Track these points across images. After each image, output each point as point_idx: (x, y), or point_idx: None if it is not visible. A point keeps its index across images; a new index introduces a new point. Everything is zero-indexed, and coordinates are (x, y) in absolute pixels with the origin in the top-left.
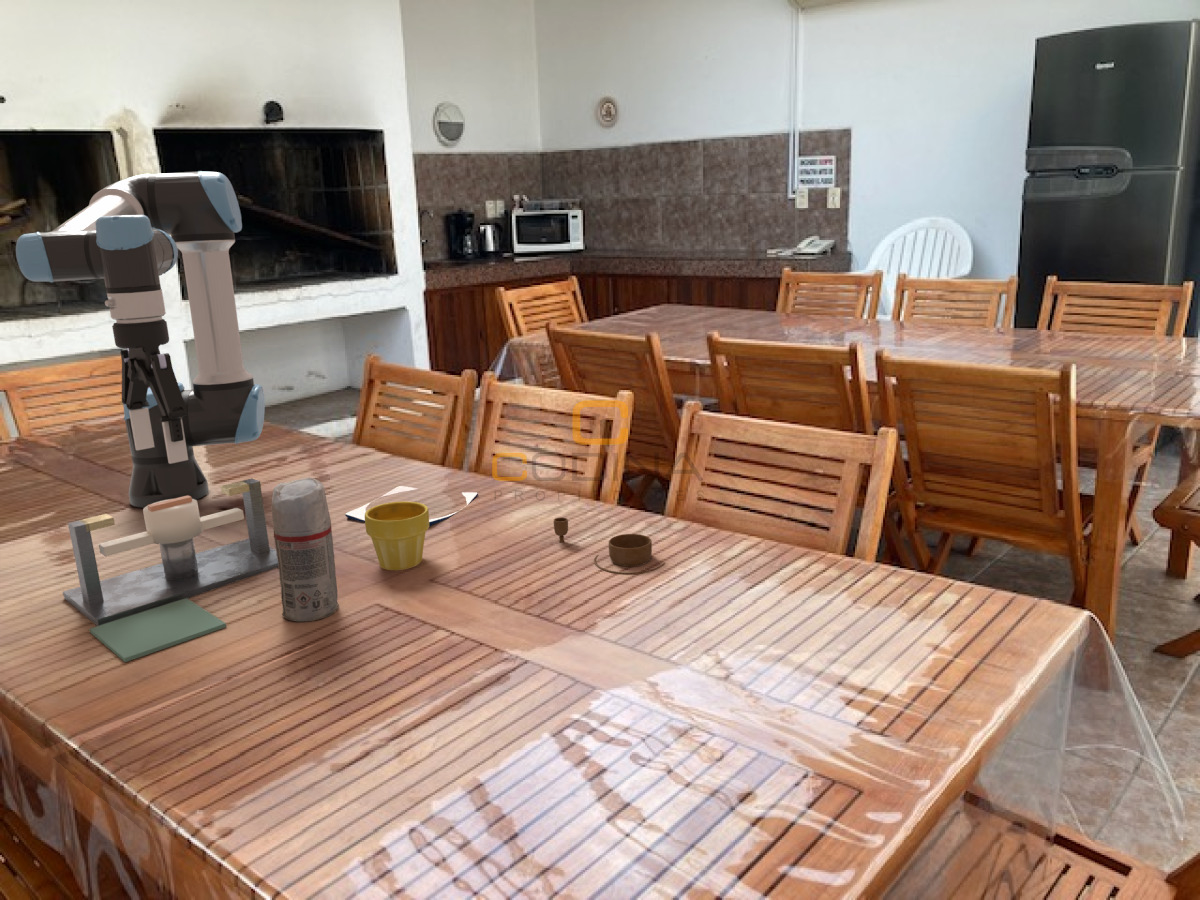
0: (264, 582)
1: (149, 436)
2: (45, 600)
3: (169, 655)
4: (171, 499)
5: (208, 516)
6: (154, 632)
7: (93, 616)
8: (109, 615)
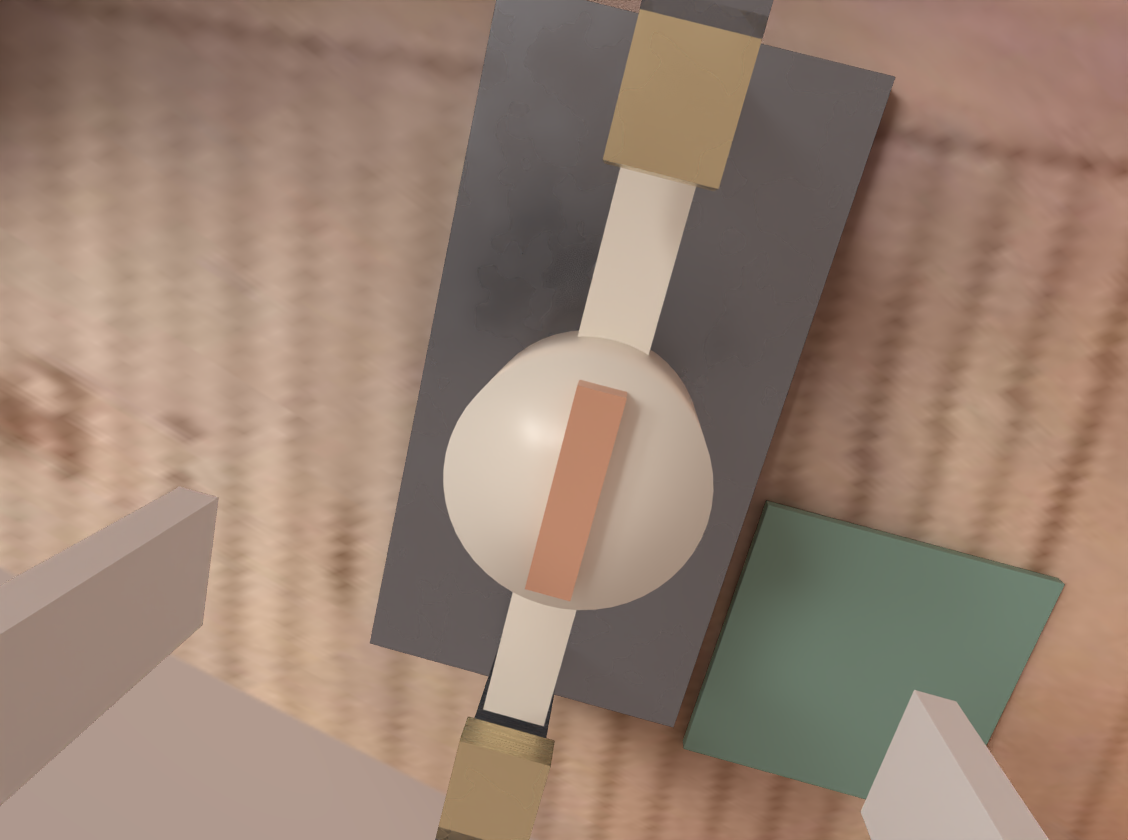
0: (900, 270)
1: (151, 569)
2: (339, 656)
3: (1031, 750)
4: (558, 476)
5: (616, 282)
6: (892, 700)
7: (641, 718)
8: (681, 698)
